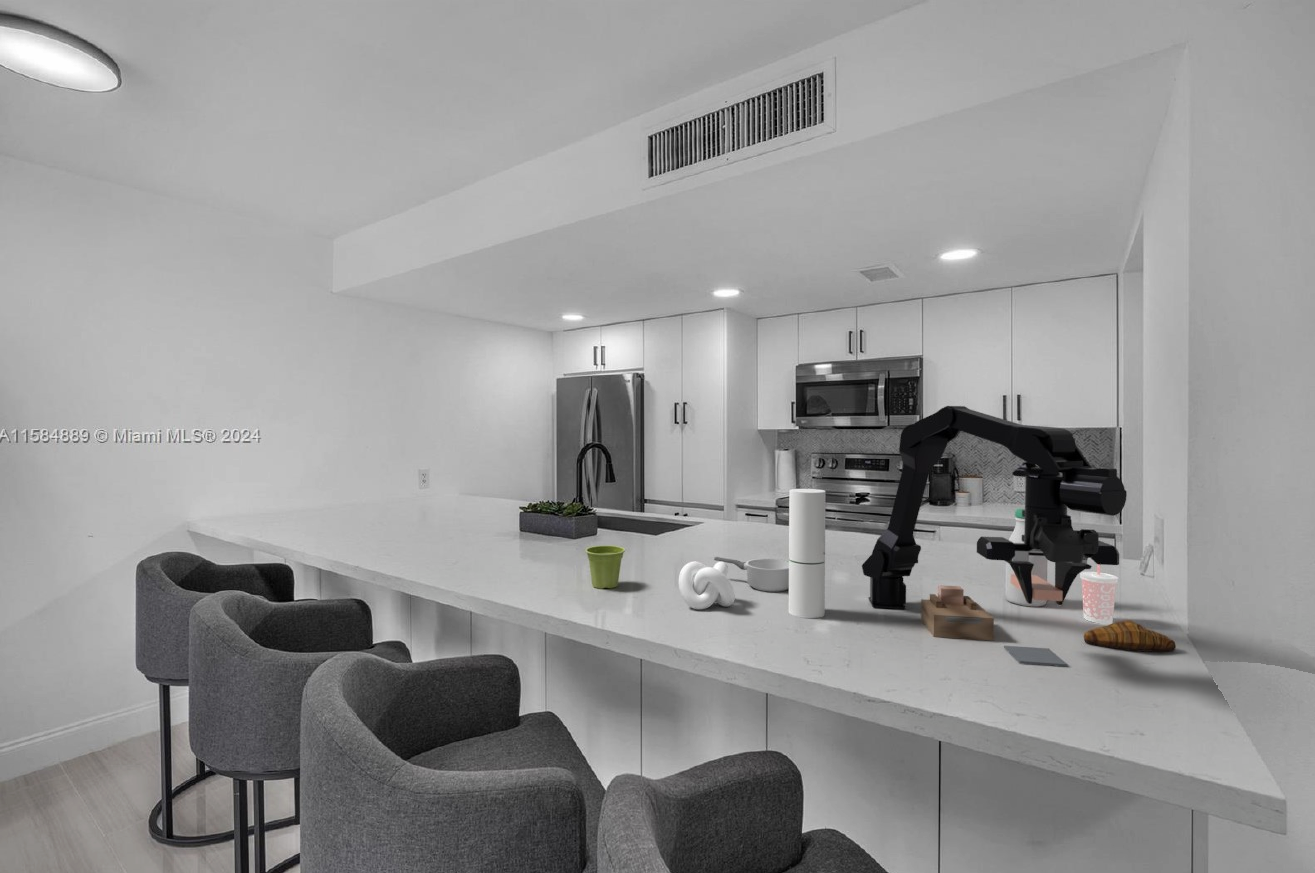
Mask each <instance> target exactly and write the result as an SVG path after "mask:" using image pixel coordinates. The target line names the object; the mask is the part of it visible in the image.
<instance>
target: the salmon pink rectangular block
mask: <svg viewBox="0 0 1315 873" xmlns="http://www.w3.org/2000/svg"><path fill="white" fill-rule="evenodd" d="M1031 577H1032V598H1033V599H1034V600H1047V601H1052V602H1053V601H1055V602H1056V601H1062V596H1063V591H1062V590H1060V589H1058V588H1057V587H1055V585H1053V584H1052V583H1051V582H1048V580H1047V581H1045V580H1043V579H1042V578H1040V577H1038V576H1036V575H1031ZM1011 584H1012V585H1014V586H1015V587H1017V588H1018V589H1020V590H1021V591H1022V589H1021V587H1020V584H1019V582H1018V579H1017V577H1016V575H1015V574H1011Z"/></svg>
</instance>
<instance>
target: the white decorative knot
mask: <svg viewBox="0 0 1315 873" xmlns="http://www.w3.org/2000/svg"><path fill="white" fill-rule="evenodd" d="M728 572H729V566H728V563H727V562H723V561H718V562H716V563H715V564H714V565H713V566H712V567H711V566H707V565H705V564H704V563H701V562H700V561H695V560H694V561H693V560H692V561H690V562H688V563H686V564H685V565H684V566H683V567H682V568H681V570H680V572H679V576H678V589H679V593H680V595H681V598H682V600H683V601H684V603H686V605H687V606H688V607H690V608H691V609H694V610H697V611H701V610H706V609H708V608H709V607H711V606H712V605H714V603H715V602H716V604H718V605H720V606H721V607H724V608H726V607H730V606H731V605H733V604H734V602H735V600H736V594H735V589H734V588H733V586H732V583H731V581H730V580H729V579H728V578H727V575H728Z"/></svg>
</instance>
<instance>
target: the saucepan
mask: <svg viewBox="0 0 1315 873" xmlns="http://www.w3.org/2000/svg"><path fill="white" fill-rule="evenodd" d="M713 560H714V561H716V562H717V561H718V562H720V561H723V562H725V563H726V564H733V565H735V566H737V567H738V568H739V569H740V570H743V571H747V576H746V578H747V579H746V581H747V584H748V585H749V586H751V587H752V588H753V589H754V590H758V591H761V592H762V591H763V592H769V593H771V592H774V593H776V592H783V591H784V592H785V591H786V590H789V560H785V559H779V558H778V559H777V558H755V559H754V558H753V559H749V560H747V561H743V562H742V561H740V560H737V559H732V558H726V557H725V558H724V557H719V556H714V559H713Z"/></svg>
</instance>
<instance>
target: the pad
mask: <svg viewBox="0 0 1315 873" xmlns="http://www.w3.org/2000/svg"><path fill="white" fill-rule="evenodd" d="M1004 648H1005V649H1006V650H1007V651H1009V653H1008V654H1009V655H1011V657H1013V659H1014V660H1015V661H1017V663H1019V664H1020V663H1024V665H1034V664H1038V665H1039V664H1040V665H1039V666H1049V665H1058V666H1057V667H1063V666H1068V665H1069V664H1068V663H1067V662H1065V661H1064V660H1063V659H1062V658H1061V657H1060V656H1059V655H1057V654H1056V653H1054V652H1053V651H1052V650H1051V649H1050V648H1047V647H1034V646H1033V647H1032V646H1031V647H1029V646H1018V645H1017V646H1016V645H1003V649H1004ZM1005 649H1004V650H1005ZM1006 650H1005V651H1006ZM1007 651H1006V652H1007ZM1025 663H1026V664H1025Z"/></svg>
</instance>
